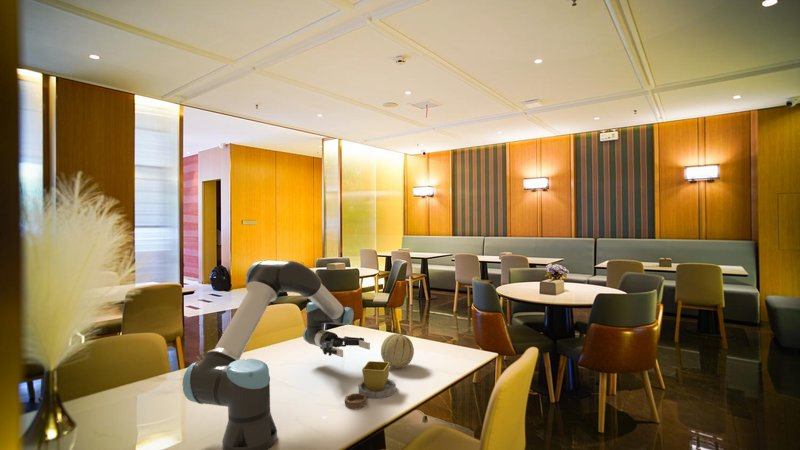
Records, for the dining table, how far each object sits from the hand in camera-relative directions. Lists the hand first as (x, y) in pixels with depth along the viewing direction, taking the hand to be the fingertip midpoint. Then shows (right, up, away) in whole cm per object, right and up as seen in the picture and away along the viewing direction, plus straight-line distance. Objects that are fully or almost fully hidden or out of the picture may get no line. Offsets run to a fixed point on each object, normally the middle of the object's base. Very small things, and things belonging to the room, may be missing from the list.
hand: (356, 349), depth 160 cm
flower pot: (+9, -13, -8) cm, 17 cm away
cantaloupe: (+17, -13, +16) cm, 27 cm away
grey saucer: (+9, -13, -8) cm, 18 cm away
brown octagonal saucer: (+2, -13, -19) cm, 23 cm away
